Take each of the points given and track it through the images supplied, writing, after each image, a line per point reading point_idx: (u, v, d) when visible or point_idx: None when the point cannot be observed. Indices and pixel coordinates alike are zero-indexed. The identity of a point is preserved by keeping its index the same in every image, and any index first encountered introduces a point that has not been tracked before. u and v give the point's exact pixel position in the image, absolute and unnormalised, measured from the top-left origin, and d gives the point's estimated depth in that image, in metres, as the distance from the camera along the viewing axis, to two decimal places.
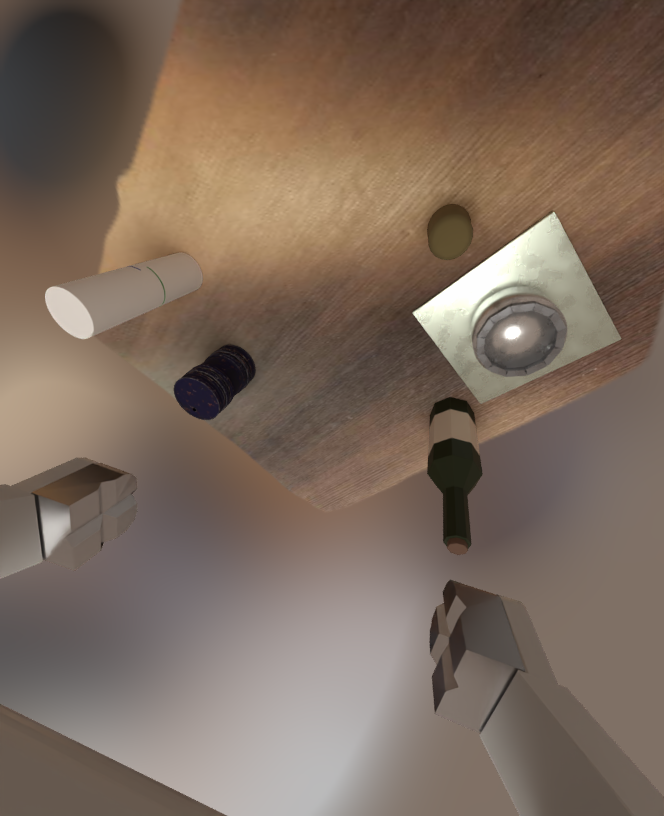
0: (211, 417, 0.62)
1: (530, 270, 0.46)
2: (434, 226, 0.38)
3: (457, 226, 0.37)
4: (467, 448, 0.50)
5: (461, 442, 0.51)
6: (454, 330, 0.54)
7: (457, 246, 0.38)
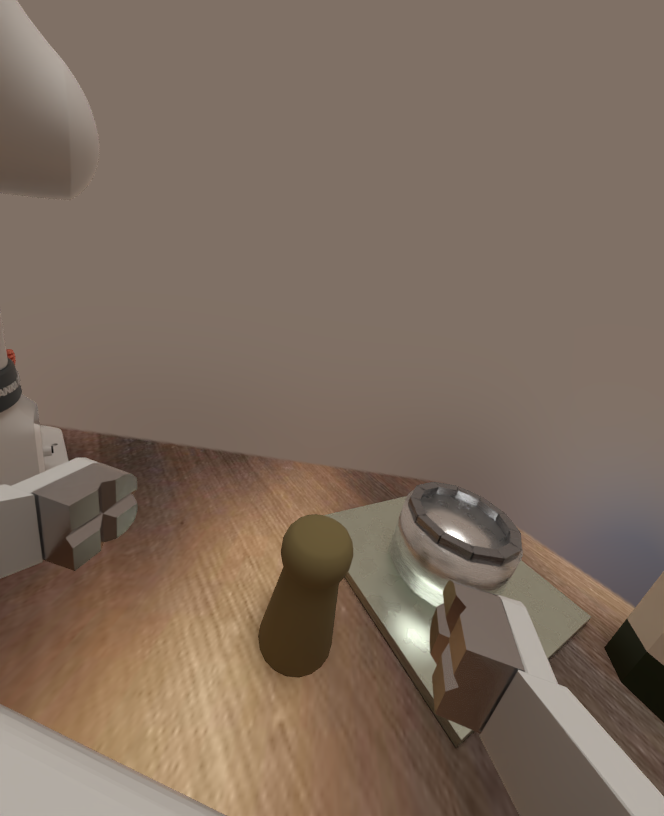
0: None
1: (370, 539, 0.37)
2: (295, 556, 0.21)
3: (306, 521, 0.23)
4: None
5: None
6: None
7: (335, 525, 0.23)
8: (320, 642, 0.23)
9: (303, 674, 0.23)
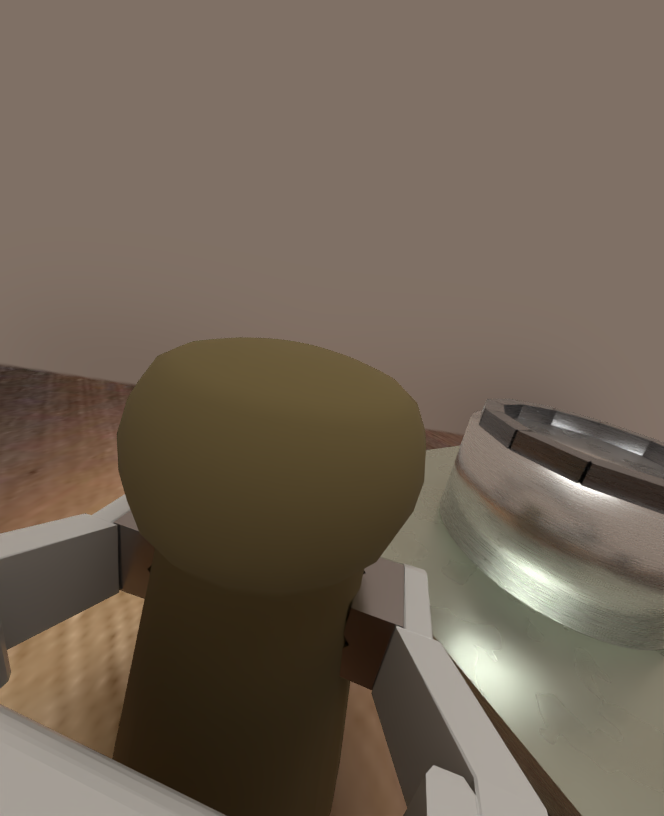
0: None
1: None
2: (147, 414, 0.04)
3: (240, 338, 0.06)
4: None
5: None
6: None
7: (349, 357, 0.06)
8: (304, 796, 0.06)
9: None
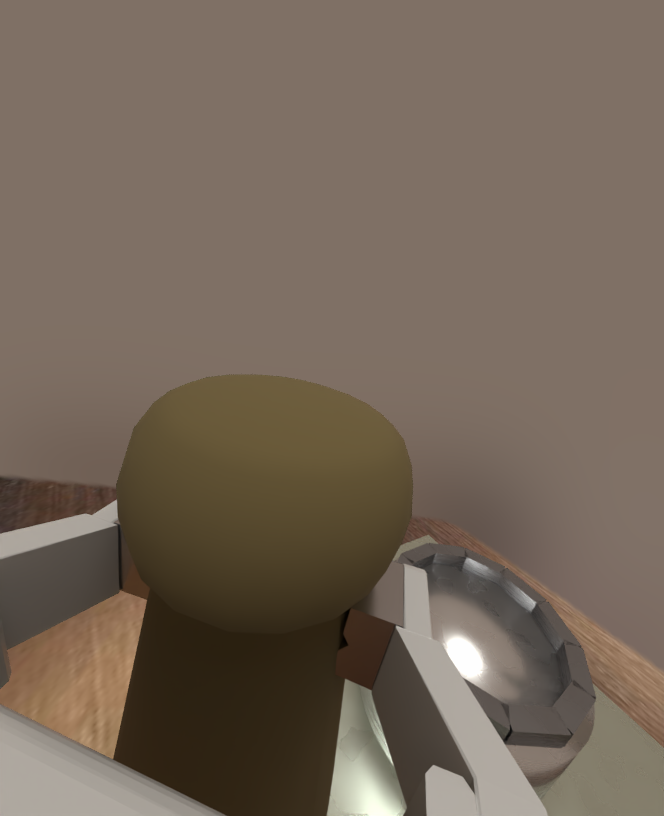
0: None
1: None
2: (150, 472, 0.04)
3: (233, 376, 0.06)
4: None
5: None
6: None
7: (339, 392, 0.07)
8: (301, 813, 0.07)
9: None
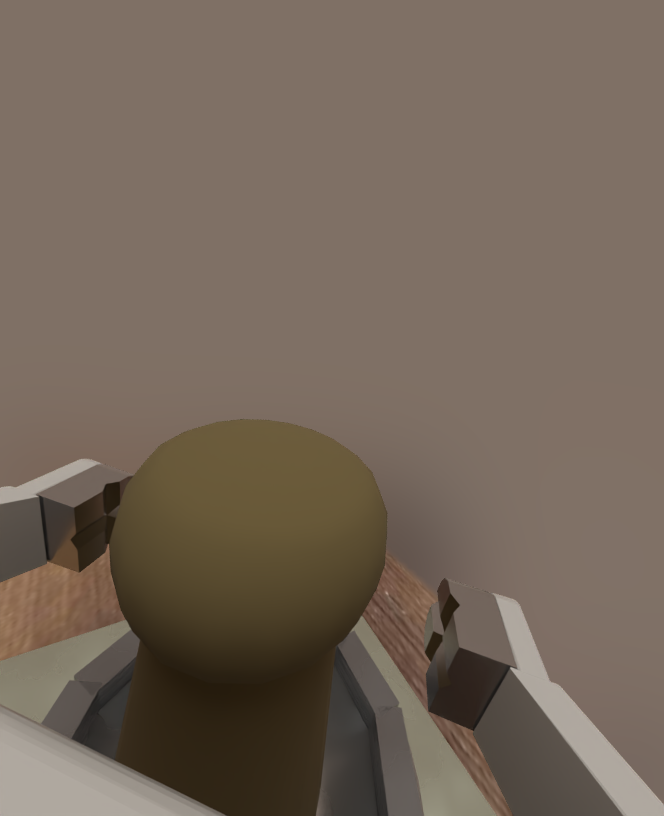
0: None
1: None
2: (138, 541, 0.04)
3: (220, 427, 0.07)
4: None
5: None
6: None
7: (321, 440, 0.07)
8: None
9: None
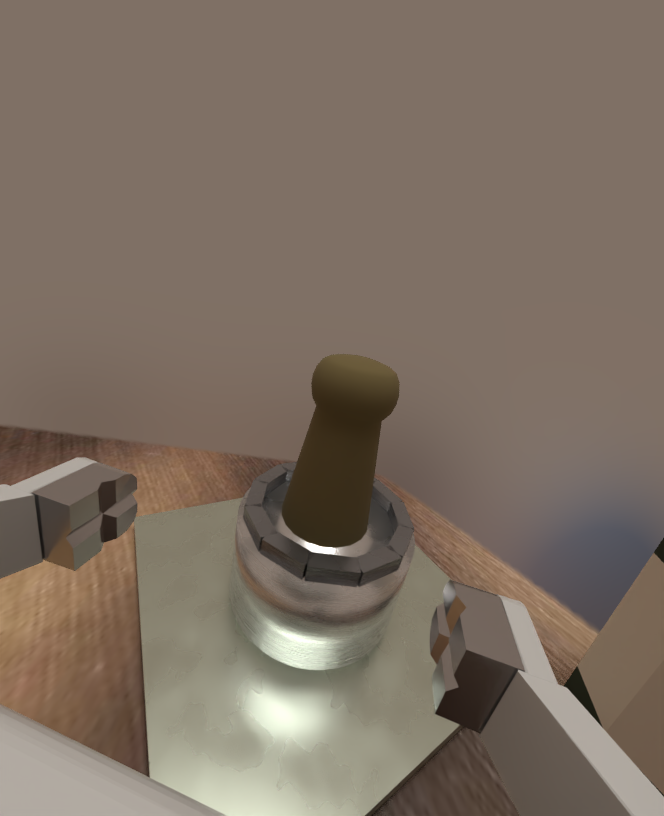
0: None
1: (212, 546, 0.25)
2: (334, 375, 0.17)
3: (340, 354, 0.19)
4: None
5: None
6: (307, 724, 0.16)
7: None
8: (362, 503, 0.19)
9: (342, 544, 0.19)
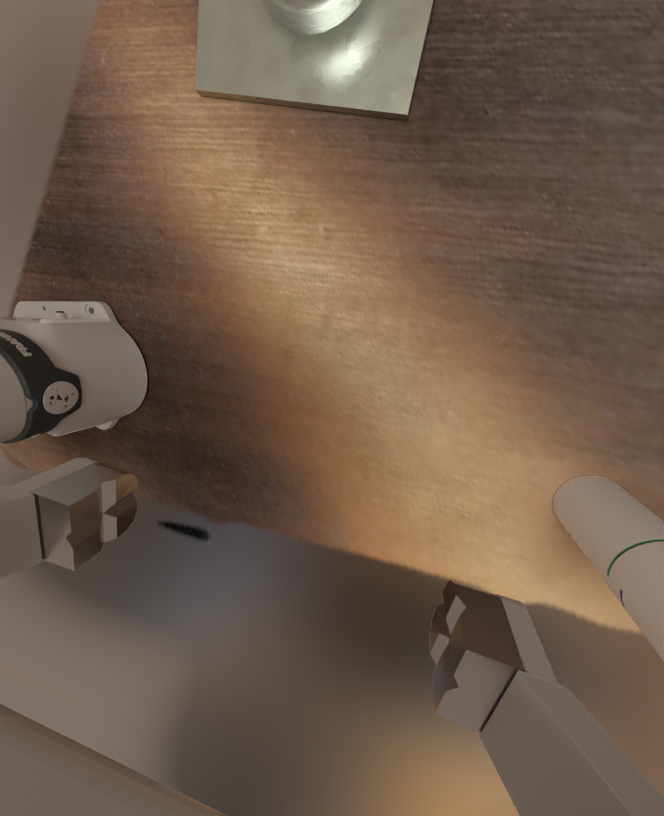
0: None
1: (247, 29, 0.30)
2: None
3: None
4: None
5: None
6: (386, 15, 0.27)
7: None
8: None
9: None
